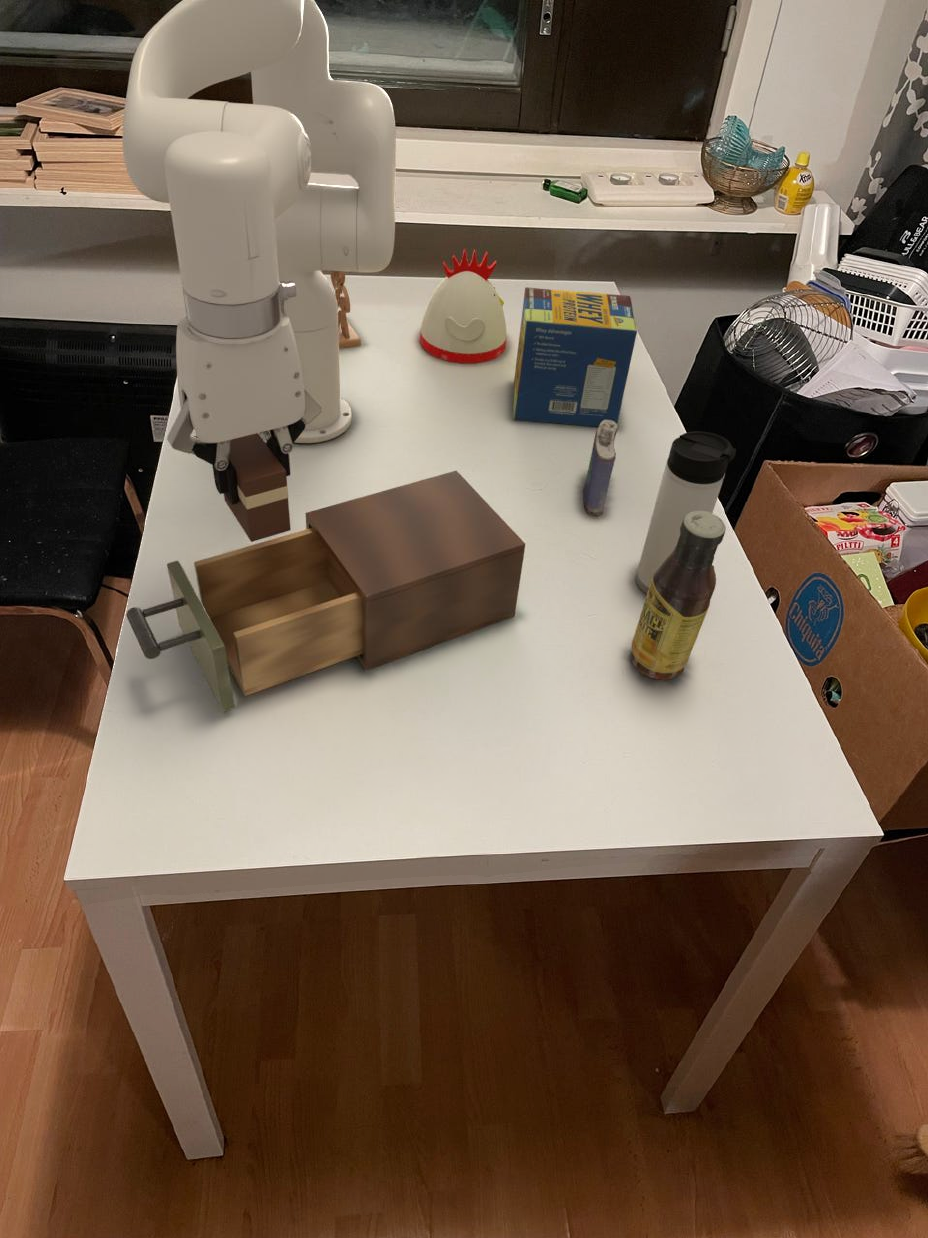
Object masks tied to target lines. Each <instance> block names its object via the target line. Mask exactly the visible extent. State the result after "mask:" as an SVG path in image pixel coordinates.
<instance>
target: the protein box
mask: <svg viewBox="0 0 928 1238" xmlns="http://www.w3.org/2000/svg"><path fill="white" fill-rule="evenodd" d="M522 302H523V303H522V311H521V312H522V313H521V321H520V329H519V337H518V345H517V353H516V362H515V369H514V370H515V371H514V378H513V413H512V414H513V415H512V416H513V417H512V418H513V420H515V421H516V420H518V421H529V422H537V423H538V422H540V423H549V424H550V423H551V424H562V425H563V424H564V425H572V426H574V425H575V426H587V427H596V428H598V427H599V424H600V423H601V422H602V421H603V420H612V421H614V422H615V423H617V424H618V423H619V417H620V415H621V414H620V413H621V408H622V404H623V400H624V399H623V398H624V394H625V389H626V385H627V381H628V377H629V371H630V366H631V362H632V357H633V352H634V348H635V344H636V338H637V334H638V327H637V325H636V321H635V315H634V309H633V302H632V297H631V296H630V295H626V294H625V295H624V294H610V293H599V292H588V291H587V292H585V291H575V290H561V289H549V288H548V289H547V288H539V287H538V288H537V287H524V293H523V301H522Z"/></svg>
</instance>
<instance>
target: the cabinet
mask: <svg viewBox="0 0 928 1238" xmlns="http://www.w3.org/2000/svg"><path fill="white" fill-rule="evenodd" d="M305 528H306V529H309V528H313V529H314V531H315V532H316V534H317V535H318V536H319V538H320V539H321V540H322V542H323V543H324V545H325V546H326V547H327V549H328V550H329V552H330V553H331V554H332V556H333V557H334V559H335V560H336V561H337V563H338V564H339V566H340V567H341V568H342V570H343V571H344V573H345V574H346V575H347V577H348V578H349V580H350V581H351V582H352V584H353V585H354V587H355V588H356V589H357V591H358V592H359V594H360V595H361V596H362V610H363V654H361V655H358V656H356V657H357V659H358V660H359V662H360V664H361V665H362V666H363V668H364V669H365V671H369V670H372V669H374V668H377V667H381V666H382V665H386V664H388V663H391V662H393V661H396V660H399V659H402V658H405V657H407V656H410V655H412V654H413V655H414V654H416V653H418V652H421V651H424V650H426V649H429V648H432V647H434V646H437V645H439V644H442V643H446V642H448V641H451V640H454V639H456V638H458V637H461V636H464V635H468V634H470V633H472V632H476V631H478V630H481V629H483V628H487V627H490V626H492V625H494V624H497V623H500V622H503V621H505V620H508V619H511V618H513V617H515V616H516V611H517V603H518V598H519V597H518V596H519V590H520V585H521V583H520V582H521V578H522V577H521V576H522V570H523V563H524V556H525V551H526V550H525V549H526V543H525V542H524V541H523V540H522V539H521V537H519V535H518V534H517V533H516V532H515V531H514V530H513V529H512V528H511V526H509V524H507V522H506V521H505V520H504V519H503V518H502V517H501V516H500V515H499V514H498V513H497V512H496V510H494V509H493V507H491V505H489V504H488V501H486V500H485V499H484V498H483V497H482V495H480V493H478V492H477V490H476V489H475V488H473V486H472V485H471V484H470V483H469V482H468V481H467V480H466V479H465V478H464V477H463V475H462V474H460V472H459V471H458V470H453V471H449V472H445V473H442V474H438V475H434V476H431V477H428V478H424V479H420V480H417V481H414V482H409V483H407V484H403V485H400V486H399V485H398V486H395V487H393V488H389V489H385V490H382V491H378V492H375V493H370V494H367V495H363V496H361V497H357V498H354V499H350V500H346V501H342V502H339V503H335V504H332V505H328V506H325V507H321V508H318V509H314V510H311V511H307V512H305ZM306 529H305V530H306Z"/></svg>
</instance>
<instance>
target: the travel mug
mask: <svg viewBox="0 0 928 1238" xmlns="http://www.w3.org/2000/svg"><path fill="white" fill-rule="evenodd" d="M736 452H737V448H735V447H733V446H732V444H731V442H730V440H728V439H727V438H726V437H723V436H721V435H720V434H716V433H713V432H708V431H689V432H684V433H683V434H680V435H679V437H676V438H675V439H674V440H673V441H672V442H671V447H670V450H669V453H668V458H667V459H666V463H665V466H664V470H663V474H662V478H661V481H660V485H659V489H658V493H657V496H656V500H655V504H654V507H653V511H652V514H651V519H650V523H649V526H648V529H647V534H646V537H645V541H644V544H643V547H642V548H643V549H642V551H641V555H640V560H639V563H638V566H637V571H636V574H635V581H636V584H637V587H638V588H639V589H640V590H641V591H642V592H643V593H645V594H646V595H647V593H648V590H649V586H650V584H651V580H652V578H653V575H654V573H655V572H656V571H657V569H658V568H659V567H660V566H661V565H662V563H663V562H664V561H665V560H666V559H667V558H668V556H669V555H670V554H671V553H672V552H673V551H674V548H675V547H676V545H677V542H678V539H679V536H680V526H681V524H682V521H683V519H684V517H685V516H686V515H687V514H689V513H690V512H693V511H706V512H710V513H712V514H714V510H715V507H716V504H717V501H718V498H719V494H720V491H721V488H722V485H723V482H724V479H725V476H726V471H727V468H728V465H729V462H732V460H733V459H734V458H736V457H735V456H736Z"/></svg>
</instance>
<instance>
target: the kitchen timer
mask: <svg viewBox="0 0 928 1238" xmlns="http://www.w3.org/2000/svg"><path fill="white" fill-rule="evenodd" d="M488 258H489V253H488V251H486V252H485V253H484V256H483V258H482V261H481V262H480V263H478V259H477V251H476V249H473V253H472V257H471V260H470V263H469V262H468V254H467V250H466V248H464V249H463V251H462V256H461V261H460V262H459V261H458V258H457V257H456V255H455V254H453V255H452V264H453V269H450V268H449V267H448V265H447V263H446V261H443V263H442V267H443V271H444V273H445V276H446V277H444V279H442V281H441V282H440V283H439V284H438V285H437V287H436V288H435V289H434V290H433V292H432V294H431V295H430V298H429V300H428V303H427V305H426V307H425V310H424V313H423V315H422V320H421V326H420V335H419V341H420V345H421V347H422V348H423V349H424V350H425V351H426V352H428V354H430V355H431V356H434V357H436V358H437V359H441V360H443V361H446V362H450V363H458V364H479V363H486V362H490V361H492V360H494V359H497V358H498V357H500V356H501V355H502V354H503V353H504V351H505V350H506V346H507V345H506V344H507V323H506V316H505V312H504V307H503V306H504V305H505V302H504V300H503V299H502V298H501V297H500V295H499V294H498V292H497V290H496V287H495V286H494V285H493V283H492V282H491V281H490V280H489V278H490V277H491V275H492V273H493V272H494V270H495V268H496V266H497V261H498V260H497V259H496V260H495V261H493V263H492V264H491V265H488V261H489V259H488Z"/></svg>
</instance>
